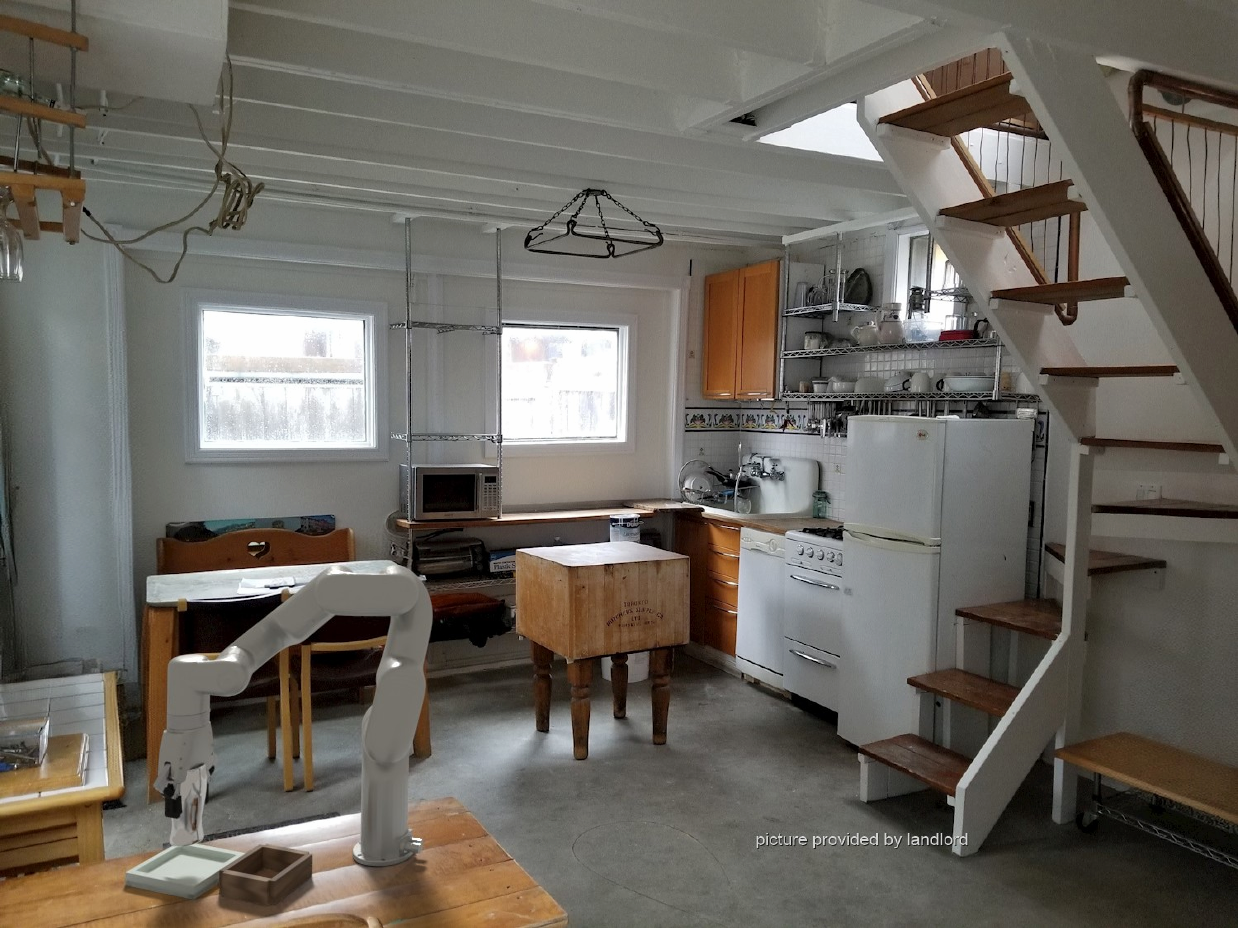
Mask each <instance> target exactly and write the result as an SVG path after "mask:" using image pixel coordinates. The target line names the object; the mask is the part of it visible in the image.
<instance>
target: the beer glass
mask: <svg viewBox="0 0 1238 928" xmlns="http://www.w3.org/2000/svg"><path fill="white" fill-rule="evenodd" d="M170 780H173V781H174V778H173V777H172V776H171V779H170ZM174 786H175V784H171V786H170V789H171V790H174ZM206 790H207V774H206V762H205V763H204V764H203V765H202V766H201V767H198V768H196V769H192V770H188V771H187V776H186V779H185V781H184V782H183V783H181V786H180V792H179V795H178V797H180V798H181V814H180V818H178V819H174V818H170V819H171V831H170V836H169V844H170V846H175V847H186V846H191V845H194V844H200V843H201V842H202V841H203V839H204V837H205V834H204V829H203V822H202V820H203V812H204V806H205V804H204V802H205V797H206Z"/></svg>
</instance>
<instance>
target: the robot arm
mask: <svg viewBox="0 0 1238 928" xmlns="http://www.w3.org/2000/svg"><path fill="white" fill-rule="evenodd" d="M335 616H349V617H350V616H353V617H362V616H363V617H390V623H389V628H388V632H387V638H386V640H385V646H384V650H383V653H382V657H381V659H380V663H379V664H378V665H379V666H378V668H377V671H376V677H375V682H376V688H375V693H374V698H373V702H372V704H371V706H370V707H369V708H368V709H367V710H366V711H365V713H364V715H363V718H362V722H361V783H360V784H361V787H360V789H361V791H360V792H361V794H360V800H361V802H360V841H358V842H357V843H356V844H355V845H354V846H353V848H352V858H353V859H354V861H356V862H357V863H359V864H361V865H364V866H369V867H385V866H386V867H387V866H392V865H397V864H399V863H402V862H404V861H406V860H408V859H409V858H411V856H413V854H419V855H420V854H421V853H422V852H423V849H424V848H423V847H424V846H423V844H424V839H423V838H418V837H417V838H416V837H414V836H413V829H412V828H409V827H408V826H409V824H408V822H409V821H408V820H409V817H408V816H409V777H410V773H409V772H410V771H409V769H410V766H409V765H410V749H411V747H412V744H413V741H414V738H415V735H416V731H417V726H418V723H419V719H420V715H421V712H422V707H423V705H424V699H425V694H426V687H427V685H426V684H427V683H426V677H425V673H424V664H425V658H426V655H427V650H428V645H429V641H430V638H431V631H432V626H433V605H432V601H431V597H430V594H429V591H428V589H427V587H426V586H425V584H424V583H423V581H422V580H421V579H420V578H419V577H418V575H416V574H415V572H413V571H412V570H411V569H410V568H408V567H406V566H402V565H399V564H393V565H389V566H386V567H385V568H383V569H382V570H381V571H380V572H379V573H367V572H366V573H365V572H364V573H363V572H361V573H360V572H354V571H353V570H351V569H350V568H349V567H347V566H344V565H338V564H336V565H332V566H329V567H327V568H325V569H324V570H323V571H321V572H320V573H318V574H317V575H316V576H314V578H313V579H311V580H310V581H308V582H307V583H306V584H305V585H304V586H302V587H301V588H299V590H298V591H296V592H295V593H294V594H293V595H291V596H290V597H289V598H288V599H286V600H285V601H284V602H282V603H281V604H280V605H279V606H277V607H276V608H275V609H274V610H273V611H271V612H270V613H269V614H267V615H266V616H265V617H264V618H262V619H261V620H260V621H259V622H257V623H256V624H255V625H253V626H252V627H251V628H249V629H248V630H247V631H246V632H245V633H243V634H242V635H241V636H239V637H238V638H237V639H236V640H234V642H232V643H230V645H228V646H227V647H226V648H225V649H224V650H222V651H221V652H220V653H219V655H218V656H217V658H216V659H214V660H210V659H209V657H207V656H206V655H204V654H196V653H195V654H193V653H192V654H191V653H190V654H183V655H178V656H176V657H173V658H172V659H171V660H169V662H168V664H167V681H166V682H167V683H166V684H167V692H166V694H167V695H166V697H167V699H166V702H167V703H166V729H165V730H163V733H162V737H161V741H160V747H159V755H158V767H157V777H156V779H155V780H154V783H152V787H153V788H154V789H155V790H156V791H157V792H158V794H160V796H161V797H162V798H163V799H164V817H166V818H170V819H171V818H174V819H178V818H180V814H181V798H180V797H178V795H179V792H180V786H181V783H183V782H184V781H185V779H186V776H187V771H188V770H192V769H196V768H198V767H201V766H202V765H203V764H204V763H205V762H206V774H207V790H206V797H205V802H204V805H206V804H208V803H209V800H210V799H209V798H210V797H209V794H210V793H209V790H210V787H209V786H210V783H211V781H212V775H213V773H214V771H215V769H216V766H217V764H218V762H219V760H220V756H219V755H218V754H217V753H215V752H214V750H215V749H214V737H213V729H212V728H213V727H212V724H211V723H212V722H211V721H210V716H211V715H210V714H211V713H210V712H211V707H210V706H211V705H210V703H211V702H210V701H211V696H219V697H231V696H236V695H238V694H240V693H242V692H243V691H244V690H245V689H246V688H248V687H247V686H248V685H249V683H250V681H251V679H252V678H251V677H252V675H253V673H255V672H256V671H257V670H258V669H259V668H260V667H262V666H263V665H264V664H265V663H266V662H268V661H269V660H270V659H271V658H273V657H275V655H277V654H278V653H279V652H281V651H282V650H284V649H286V648H288V647H290V646H293V645H295V646H296V645H299V644H300V643H302V642H304V641H305V640H306V639H308V638H309V637H310V636H311V635H312V634H314V633H315V632H316V631H317V630H318V629H320V628H321V627H322V626H324V625H325V624H326V623H327V622H328V621H329V620H331V619H332V618H333V617H335ZM171 776H172V777H173V778H174V781H173V780H170V779H171ZM171 784H175V786H174V790H171V789H170V786H171Z"/></svg>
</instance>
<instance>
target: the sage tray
mask: <svg viewBox="0 0 1238 928" xmlns="http://www.w3.org/2000/svg"><path fill="white" fill-rule="evenodd" d="M245 853H246V852H241V851H236V850H232V849H226V848H221V847H215V846H211V845H205V844H201V843H197V844H194V845H191V846H186V847H175V846H172V845H170V847H168V848H166V849H164V850H163V851H161V852H159V853H157V854H156V855H153V856H152V857H150V858H148V859H147V860H145V861H143V862H142V863H139V864H138V865H136V866H134V867H132V868H131V869H129V870H127V871H126V872H125V876H124V877H125V878H124V879H125V886H127V887H128V886H129V887H132V888H137V889H141V890H146V891H150V892H155V893H160V894H165V895H168V896H169V895H171V896H174V897H178V898H184V899H186V900H187V899H188V900H192V901H194V900H196V899H197V898H198V897H200V896H201V895H204V894H205V893H206V892H208V891H209V890H211V889H213V888H214V887H215V886H217V885H218V884H219V870H220V869H222V868H223V867H225V866H227V865H228V864H230V863H231V862H233V861H234V860H236V859H238V858H239V857H241V856H242V855H244V854H245Z"/></svg>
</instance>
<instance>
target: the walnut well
mask: <svg viewBox="0 0 1238 928" xmlns="http://www.w3.org/2000/svg"><path fill="white" fill-rule="evenodd" d="M244 853H245V854H244V855H242V856H241V857H239V858H238V859H236V860H234V861H233V862H231V863H230V864H228V865H227V866H225V867H223V868H222V869H220V870H219V883H218V884H219V886H218V894H220V895H221V896H222V897H225V898H228V899H233V900H239V901H243V902H248V903H253V904H256V905H257V904H258V905H261V906H269V905H271V906H276V904H278V903H279V902H281V901H282V900H283V899H285V898H286V897H287V896H288V895H290V894H291V893H292V892H294V891H295V890H297V889H298V888H300V886H302V885H303V884H304V883H306V882H307V881H309V879H311V878H312V877H313V853H310V851H305V850H301V849H295V848H291V847H286V846H284V847H283V846H280V845H274V844H268V843H266V844H257V846H255V847H253V848H252V849H250V850H248V851H246V852H244ZM261 870H268V871H272V872H277V874H276V875H275V876H272V878H271V877H270V878H269V877H266V876H265V877H264V876H259V875H256V874H257V873H258V872H260V871H261Z"/></svg>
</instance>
